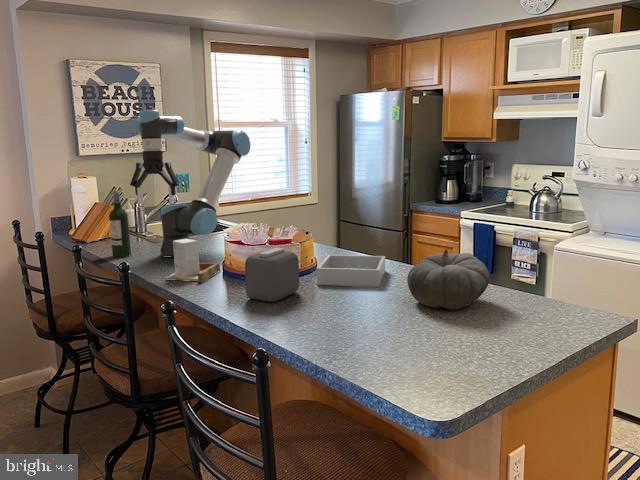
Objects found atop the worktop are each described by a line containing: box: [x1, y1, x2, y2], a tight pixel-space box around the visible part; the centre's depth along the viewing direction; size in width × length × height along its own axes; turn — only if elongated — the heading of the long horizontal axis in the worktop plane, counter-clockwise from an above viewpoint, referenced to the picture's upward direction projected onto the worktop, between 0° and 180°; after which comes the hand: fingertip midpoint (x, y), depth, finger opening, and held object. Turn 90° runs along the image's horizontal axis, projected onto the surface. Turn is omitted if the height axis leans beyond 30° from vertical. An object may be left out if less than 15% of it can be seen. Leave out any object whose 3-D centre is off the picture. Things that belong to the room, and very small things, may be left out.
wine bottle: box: [108, 189, 132, 259], centre depth 249 cm, size 8×8×30 cm
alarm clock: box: [244, 247, 300, 303], centre depth 183 cm, size 16×11×16 cm
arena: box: [164, 262, 221, 283], centre depth 212 cm, size 17×16×4 cm
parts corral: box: [315, 254, 386, 288], centre depth 205 cm, size 22×22×6 cm
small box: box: [173, 238, 200, 277], centre depth 211 cm, size 8×6×13 cm
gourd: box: [406, 248, 491, 311], centre depth 171 cm, size 25×25×17 cm
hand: (156, 203), depth 221 cm, fingers open, 13 cm apart
